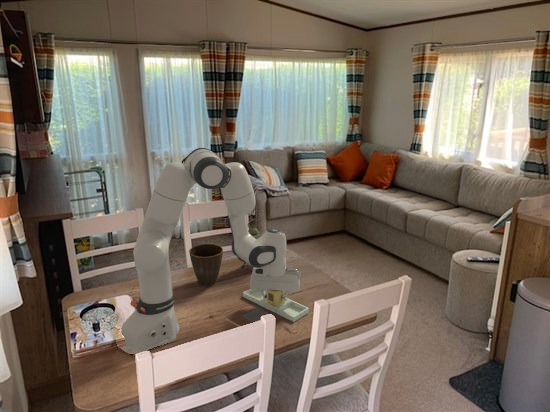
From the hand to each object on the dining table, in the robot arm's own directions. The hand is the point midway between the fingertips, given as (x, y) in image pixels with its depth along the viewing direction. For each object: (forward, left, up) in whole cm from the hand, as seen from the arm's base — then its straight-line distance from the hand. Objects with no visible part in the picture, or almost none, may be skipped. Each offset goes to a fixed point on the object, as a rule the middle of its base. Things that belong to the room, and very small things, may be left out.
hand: (274, 298), depth 165 cm
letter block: (0, 0, -3) cm, 3 cm away
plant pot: (-6, +36, -3) cm, 37 cm away
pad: (-11, -1, -3) cm, 11 cm away
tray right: (0, -10, -3) cm, 10 cm away
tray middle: (0, 0, -3) cm, 3 cm away
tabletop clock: (+20, +32, -3) cm, 38 cm away
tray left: (0, +9, -3) cm, 10 cm away
